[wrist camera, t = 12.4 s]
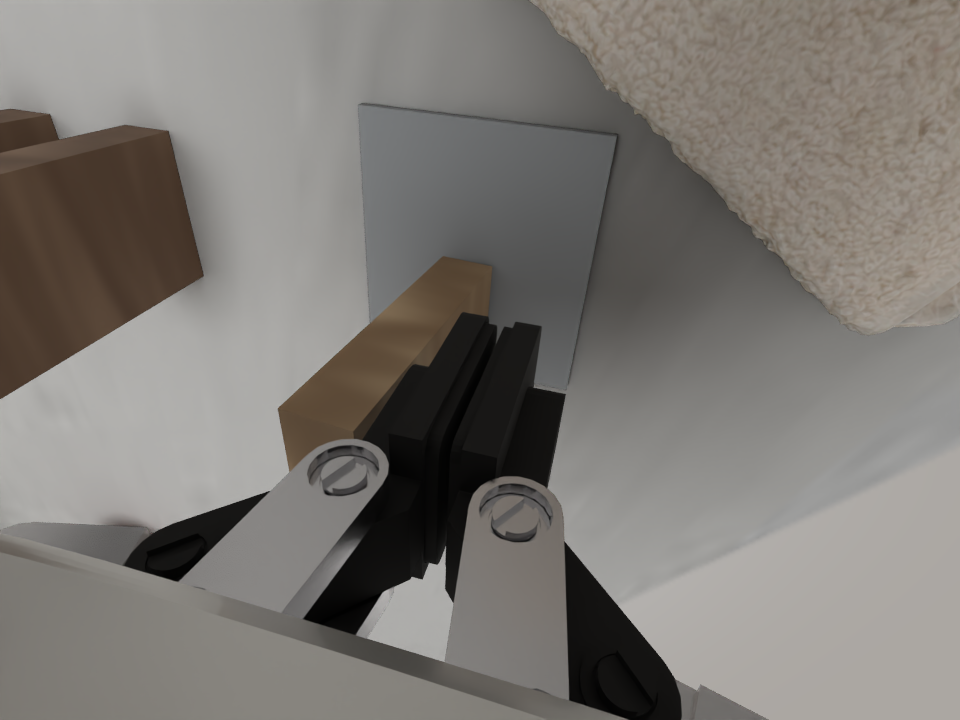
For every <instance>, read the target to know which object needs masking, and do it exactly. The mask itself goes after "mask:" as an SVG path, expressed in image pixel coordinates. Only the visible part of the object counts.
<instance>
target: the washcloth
mask: <svg viewBox="0 0 960 720" xmlns="http://www.w3.org/2000/svg"><path fill="white" fill-rule="evenodd" d="M529 1H530V2H531V3H532V4H534V5H535V6H537V7H538V8H539V9H540V10H542V11H543V12H544V13H545V14H546V16H547V17H548V18H549V19H550V22H551V24H552V26H553V27H554V28H555V29H556V31H557V33H558V34H559V35H561V36H562V37H564V38H565V39H566V40H567V41H569V42H571V43H573V44H574V45H576V46H577V47H578V48H579V50H580V52H581V53H584V54H585V56H586V57H587V59H588V61H589V62H590V64H591V65H592V67H593V69H594V70H595V72H596V74H597V75H598V77H599V79H600V80H601V82H602V83H603V85H604V87H605V89H606V90H610V91H612V92H617V93H618V95H619V97H620V98H621V100H622V101H623V102H625V103H629V104H630V105H631V106H632V107H633V108H634V114H635V115H637V114H641V116H642V117H643V118H644V119H646V120H647V122H648V124H649V126H651V129H652V131H653V132H654V133H656V134H657V135H660V136H662V137H665V138H666V139H667V140H668V141H669V142H670V144H671V147H672V151H673V153H674V154H675V155H676V156H677V157H678V158H679V159H680V160H681V161H682V162H683V163H686V164H687V165H688V166H689V167H690V168H691V169H692V170H693V171H694V172H696V173H698V174H699V175H701V176H702V177H703V178H704V179H705V180H706V181H707V182H709V183H710V184H711V185H712V186H713V187H714V189H715V190H716V192H717V193H718V194H719V195H720V196H721V197H722V198H723V200H724V201H725V202H726V204H727V206H728V209H729V210H730V211H733V212H736V213H737V215H738V217H739V219H740V220H742V221H743V222H745V223H746V224H748V225H749V226H751V228H752V232H753V234H754V235H755V237H756V238H759V239H762V241H763V243H764V245H766V246H767V248H768V249H769V250H770V251H772V252H775V253H776V254H777V255H778V256H780V257H781V258H782V259H783V261H784V264H785V265H786V266H788V267H789V270H790V273H791V276H792V277H793V278H794V279H795V280H797V281H799V282H800V283H801V285H802V286H803V288H804V289H805V290H806V291H807V292H809V293H812V294H813V295H815V296H816V297H817V298H818V299H819V300H820V302H821V303H823V305H824V306H825V308H826V309H827V310H828V311H829V314H832V315H835V316H836V317H837V318H838V319H839V322H840V324H841V325H844V324H845V326H846V327H847V328H848V329H849V330H852V331H857V332H858V333H860V334H861V335H873V334H878V333H883V332H885V331H887V330H889V329H891V328H892V327H894V326H895V327H916V326H932V325H941V324H945V323H947V322H949V321H951V320H953V319H955V318H956V317H958V316H959V313H960V0H529Z"/></svg>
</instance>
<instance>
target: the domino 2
mask: <svg viewBox="0 0 960 720" xmlns="http://www.w3.org/2000/svg"><path fill="white" fill-rule="evenodd" d="M491 277H492V266H488V265H483V264H478V263H474V262H469V261H464V260H459V259H455V258H450V257H445V256H442V257H441V258H440V259H439V260H438V261H437V262H436V263H435V264H434V265H433V266H432V267H431V268H429V269H428V270H427V271H426V272H425V273H424V274H423V275H422V276H421V277H420V278H419V279H418V280H416V281H415V282H414V283H413V284H412V285H411V286H410V287H409V288H408V289H407V290H406V291H405V292H403V293H402V294H401V295H400V296H399V297H398V298H397V299H396V300H395V301H394V302H393V303H392V304H390V305H389V306H388V307H387V308H386V309H385V310H384V311H383V312H382V313H381V314H380V315H379V316H377V317H376V318H375V319H374V320H373V321H372V322H371V323H370V324H369V325H368V326H367V327H366V328H364V329H363V330H362V331H361V332H360V333H359V334H358V335H357V336H356V337H355V338H354V339H353V340H351V341H350V342H349V343H348V344H347V345H346V346H345V347H344V348H343V349H342V350H341V351H339V352H338V353H337V354H336V355H335V356H334V357H333V358H332V359H331V360H330V361H329V362H328V363H326V364H325V365H324V366H323V367H322V368H321V369H320V370H319V371H318V372H317V373H316V374H315V375H313V376H312V377H311V378H310V379H309V380H308V381H307V382H306V383H305V384H304V385H303V386H302V387H300V388H299V389H298V390H297V391H296V392H295V393H294V394H293V395H292V396H291V397H290V398H289V399H287V400H286V401H285V402H284V403H283V404H282V405H281V406H280V407H279V408H278V412H279V417H280V423H281V428H282V434H283V439H284V444H285V450H286V455H287V461H288V466H289V471H291V470H292V469H293V468H294V467H295V466H296V465H297V464H298V463H299V462H300V461H301V460H302V459H303V458H304V457H306V456H307V455H308V454H309V453H310V452H312V451H313V450H314V449H316V448H317V447H319V446H321V445H324V444H326V443H328V442H332V441H336V440H341V439H358V440H362V439H363V438H364V436H365V434H366V433H367V431H368V430H369V428H370V427H371V425H372V424H373V422H374V421H375V419H376V418H377V416H378V415H379V413H380V412H381V410H382V409H383V407H384V406H385V404H386V403H387V401H388V400H389V398H390V397H391V395H392V394H393V392H394V391H395V389H396V388H397V386H398V384H399V383H400V381H401V380H402V378H403V377H404V375H405V374H406V372H407V371H408V369H409V368H410V367H411V366H412V365H414V364H418V365H423V366H428V367H429V365H430V364H431V362H432V360H433V359H434V357H435V355H436V354H437V352H438V351H439V349H440V347H441V346H442V344H443V342H444V341H445V339H446V337H447V336H448V334H449V332H450V331H451V329H452V328H453V326H454V324H455V323H456V321H457V319H458V318H459V316H460V314H461V313H462V312H466V313H472V314H477V315H483V316H488V311H489V299H490V288H491Z"/></svg>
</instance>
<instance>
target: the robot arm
mask: <svg viewBox="0 0 960 720" xmlns="http://www.w3.org/2000/svg"><path fill="white" fill-rule="evenodd" d="M541 331H542V326H538V325H533V324H527V323H522V322H515V323H514V326H513V328H511V327H504V328H503V330H502V332H501V334H500V337H499V339H498V341H497V343H496V340H497V325H494V324H489V317H488V316H483V315H477V314H472V313H466V312H462V313H461V314H460V316H459V318H458V319H457V321H456V323H455V324H454V326H453V328H452V329H451V331H450V332H449V334H448V336H447V337H446V339H445V341H444V342H443V344H442V346H441V347H440V349H439V351H438V352H437V354H436V355H435V357H434V359H433V360H432V362H431V364H430V365H429V367H428V366H423V365H418V364H414V365H412V366H411V367H410V368H409V369H408V371H407V372H406V374H405V375H404V377H403V378H402V380H401V381H400V383H399V384H398V386H397V388H396V389H395V391H394V392H393V394H392V395H391V397H390V398H389V400H388V401H387V403H386V404H385V406H384V407H383V409H382V410H381V412H380V413H379V415H378V416H377V418H376V419H375V421H374V422H373V424H372V425H371V427H370V428H369V430H368V431H367V433H366V434H365V436H364V438H363V439H362V440H358V439H341V440H336V441H332V442H328V443H326V444H324V445H321V446H319V447H317V448H316V449H314V450H313V451H312V452H310V453H309V454H308V455H307V456H306V457H304V458H303V459H302V460H301V461H300V462H299V463H298V464H297V465H296V466H295V467H294V468H293V469H292V470H291V471H290V472H289V473H288V474H287V475H286V476H285V477H284V478H283V479H282V480H281V481H280V482H279V483H278V484H277V485H276V486H275V487H274V488H273V489H272V490H271V491H268V492H265V493H262V494H259V495H256V496H254V497H251V498H248V499H245V500H242V501H239V502H236V503H233V504H230V505H227V506H224V507H221V508H218V509H215V510H212V511H209V512H206V513H203V514H200V515H197V516H194V517H192V518H189V519H186V520H183V521H180V522H177V523H174V524H171V525H169V526H167V527H165V528H162V529H160V530H158V531H156V532H155V533H153V534H149V531H148V529H147V527H130V526H108V525H87V524H66V523H44V522H31V523H21V524H16V525H13V526H10V527H7V528H4V529H1V530H0V720H768V719H766V718H764V717H762V716H760V715H758V714H756V713H755V712H753V711H751V710H749V709H747V708H745V707H743V706H741V705H739V704H737V703H735V702H733V701H731V700H729V699H727V698H726V697H724V696H722V695H720V694H718V693H716V692H714V691H712V690H710V689H708V688H706V687H704V686H702V685H700V686H699V688H698V690H697V691H696V690H695V689H693V688H691V687H689V686H687V685H685V684H683V683H681V682H679V681H677V680H675V678H674V676H673V675H672V673H671V672H670V670H669V669H668V667H667V666H666V664H665V663H664V661H663V660H662V659H661V657H660V656H659V655H658V654H657V653H656V651H655V650H654V649H653V648H652V647H651V645H650V644H649V643H648V642H647V641H646V639H645V638H644V637H643V636H642V634H641V633H640V632H639V631H638V630H637V628H636V627H635V626H634V625H633V624H632V623H631V621H630V620H629V619H628V618H627V616H626V615H625V614H624V613H623V611H622V610H621V609H620V608H619V607H618V605H617V604H616V603H615V602H614V601H613V599H612V598H611V597H610V596H609V595H608V593H607V592H606V591H605V590H604V589H603V587H602V586H601V585H600V584H599V583H598V581H597V580H596V579H595V578H594V576H593V575H592V574H591V573H590V572H589V570H588V569H587V568H586V567H585V566H584V564H583V563H582V562H581V561H580V560H579V558H578V557H577V556H576V555H575V554H574V552H573V551H572V550H571V549H570V547H569V546H568V545H567V544H566V543H565V541H564V518H563V513H562V508H561V505H560V503H559V502H558V500H557V499H556V497H555V495H554V494H553V493H552V492H550V491H549V490H548V489H547V487H548V482H549V478H550V473H551V468H552V463H553V458H554V453H555V448H556V443H557V438H558V433H559V427H560V422H561V417H562V412H563V406H564V401H565V395H566V394H562V393H557V392H552V391H547V390H542V389H537V388H533V387H534V380H535V373H536V366H537V359H538V353H539V346H540V339H541ZM445 546H446V583H445V589H446V591H447V593H448V595H449V596H450V598H451V600H452V602H453V603H454V604H453V611H452V617H451V624H450V630H449V636H448V643H447V649H446V656H445V662H442V661H439V660H435V659H432V658H429V657H425V656H422V655H419V654H416V653H412V652H409V651H406V650H402V649H399V648H396V647H393V646H389V645H386V644H383V643H379V642H376V641H373V640H369V639H367V638H368V637H369V635H370V633H371V632H372V630H373V628H374V627H375V625H376V624H377V622H378V620H379V619H380V617H381V615H382V614H383V612H384V611H385V609H386V607H387V606H388V604H389V602H390V600H391V598H392V595H393V593H394V587H395V586H397V585H399V584H401V583H403V582H406V581H408V580H410V579H411V577H415V578H418V579H423V577H424V574H425V572H426V569H427V567H428V564H429V563H433V564H436V565H437V564H438V563H439V562H440V559H441V557H442V554H443V552H444V549H445Z"/></svg>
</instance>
